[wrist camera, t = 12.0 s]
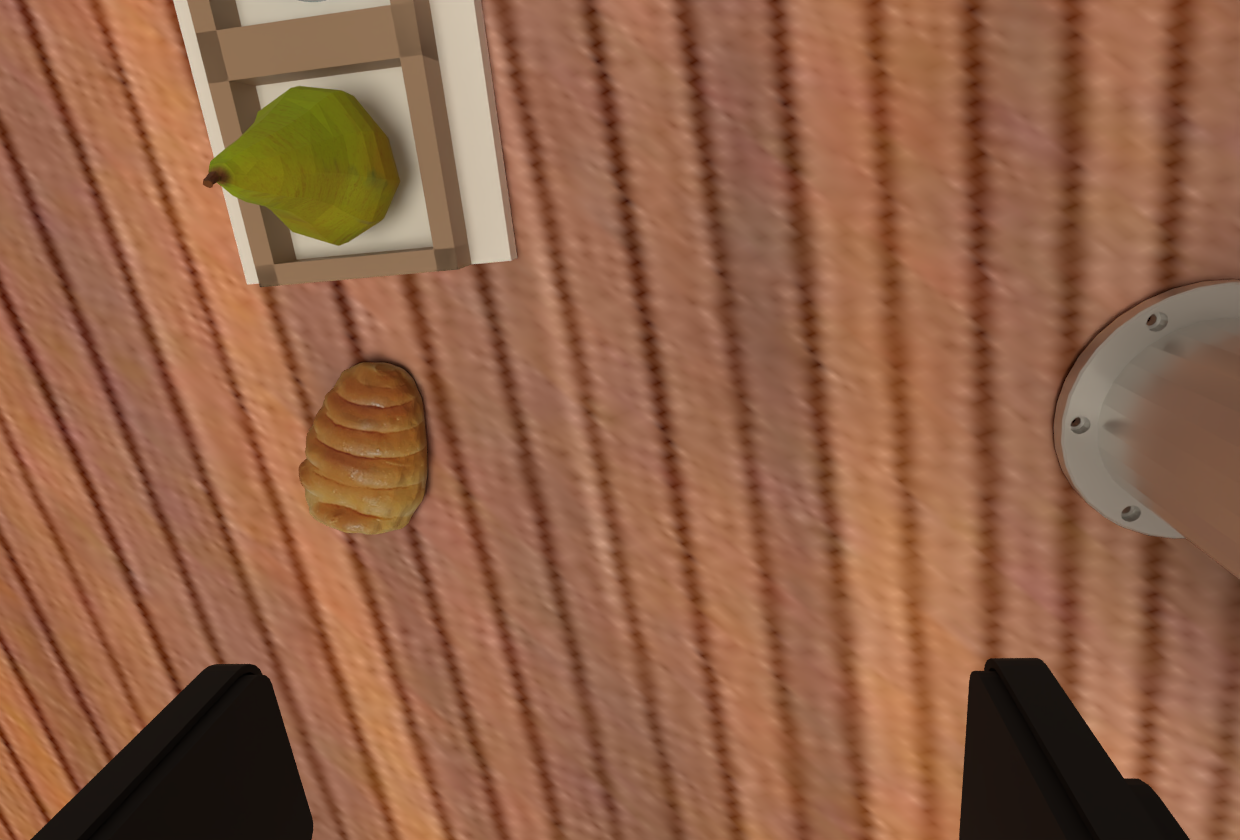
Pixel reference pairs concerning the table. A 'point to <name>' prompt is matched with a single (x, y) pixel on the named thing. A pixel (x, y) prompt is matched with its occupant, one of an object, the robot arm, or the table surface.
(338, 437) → the pastry
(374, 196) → the fruit
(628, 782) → the table surface
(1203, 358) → the robot arm
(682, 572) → the table surface
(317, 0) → the pale blue rounded block
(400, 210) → the tray
